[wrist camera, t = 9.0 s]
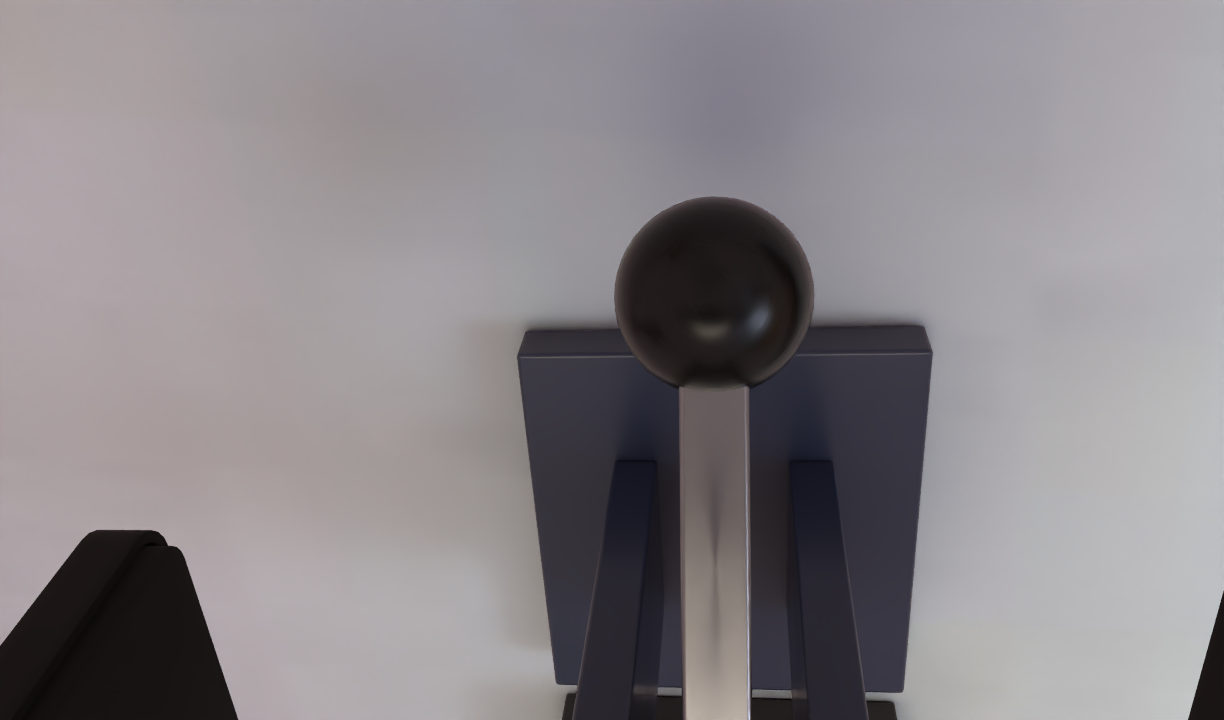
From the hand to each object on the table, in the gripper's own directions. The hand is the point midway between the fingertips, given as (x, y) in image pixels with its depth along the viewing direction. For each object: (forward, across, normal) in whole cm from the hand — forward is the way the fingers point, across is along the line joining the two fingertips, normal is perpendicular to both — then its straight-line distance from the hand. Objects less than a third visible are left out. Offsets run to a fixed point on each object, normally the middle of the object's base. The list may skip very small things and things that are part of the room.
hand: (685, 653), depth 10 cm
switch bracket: (+15, 0, +10) cm, 18 cm away
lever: (+8, 0, +6) cm, 10 cm away
